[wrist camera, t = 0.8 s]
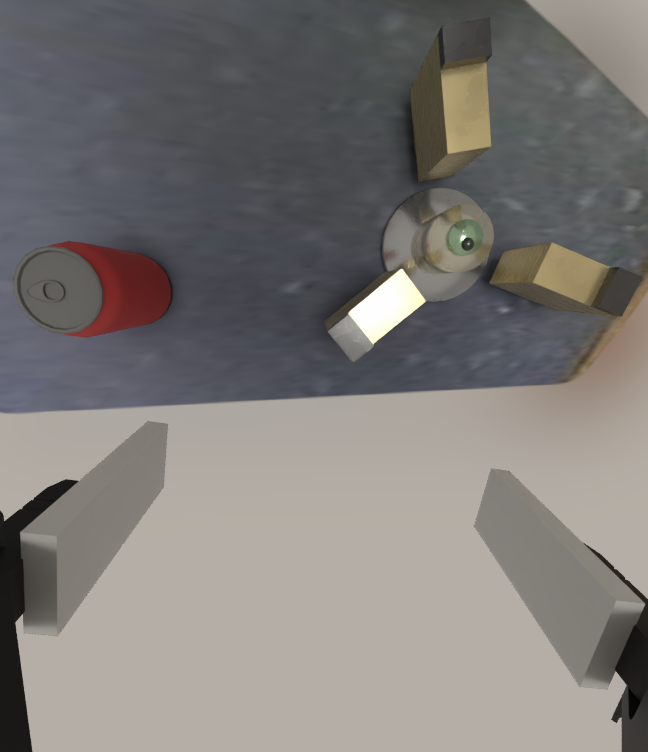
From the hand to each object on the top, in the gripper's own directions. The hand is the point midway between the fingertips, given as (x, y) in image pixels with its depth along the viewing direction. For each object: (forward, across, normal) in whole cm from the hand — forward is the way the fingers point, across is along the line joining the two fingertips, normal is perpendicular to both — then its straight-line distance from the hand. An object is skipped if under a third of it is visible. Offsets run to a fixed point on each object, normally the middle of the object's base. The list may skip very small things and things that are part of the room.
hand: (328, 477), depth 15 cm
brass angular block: (+22, +18, +11) cm, 30 cm away
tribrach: (+24, +11, +12) cm, 29 cm away
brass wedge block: (+21, +3, +5) cm, 22 cm away
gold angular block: (+22, +6, +21) cm, 31 cm away
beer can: (+24, -18, +4) cm, 30 cm away
